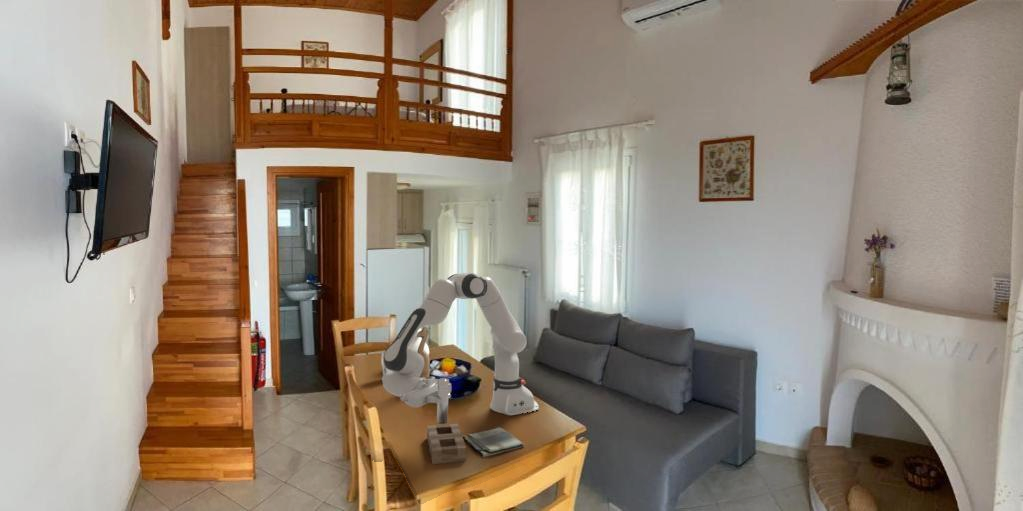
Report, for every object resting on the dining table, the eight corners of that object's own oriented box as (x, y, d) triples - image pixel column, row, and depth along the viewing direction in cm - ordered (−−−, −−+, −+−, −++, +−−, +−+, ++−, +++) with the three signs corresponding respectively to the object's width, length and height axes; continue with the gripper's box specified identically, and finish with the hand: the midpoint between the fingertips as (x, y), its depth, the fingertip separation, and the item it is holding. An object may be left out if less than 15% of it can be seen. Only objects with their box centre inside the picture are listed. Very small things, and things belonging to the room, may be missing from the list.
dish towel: (500, 430, 203) (500, 422, 203) (524, 448, 188) (524, 440, 188) (460, 439, 193) (460, 432, 193) (482, 460, 178) (482, 451, 178)
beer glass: (382, 377, 258) (382, 350, 257) (395, 377, 259) (396, 350, 257) (380, 382, 251) (380, 353, 250) (393, 382, 252) (394, 354, 250)
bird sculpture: (410, 385, 249) (410, 324, 245) (434, 383, 252) (433, 323, 248) (412, 394, 238) (411, 330, 235) (436, 392, 241) (435, 328, 238)
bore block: (427, 438, 192) (427, 426, 192) (457, 435, 195) (457, 423, 195) (432, 464, 173) (432, 450, 173) (465, 460, 176) (466, 447, 176)
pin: (444, 418, 183) (446, 377, 182) (449, 422, 180) (450, 380, 178) (435, 420, 181) (436, 378, 179) (439, 424, 178) (440, 382, 176)
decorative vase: (398, 362, 284) (399, 320, 281) (429, 362, 286) (430, 321, 283) (394, 373, 266) (395, 328, 264) (427, 373, 268) (428, 328, 266)
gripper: (397, 389, 177) (425, 399, 170) (435, 375, 195) (462, 382, 187) (397, 406, 178) (425, 416, 171) (434, 390, 195) (461, 398, 188)
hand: (444, 398), depth 179 cm, fingers closed on pin, 4 cm apart
